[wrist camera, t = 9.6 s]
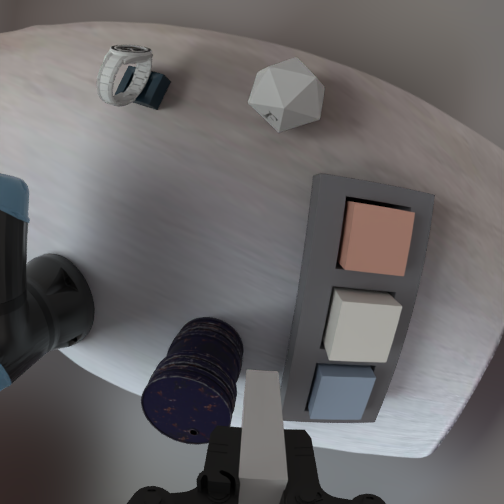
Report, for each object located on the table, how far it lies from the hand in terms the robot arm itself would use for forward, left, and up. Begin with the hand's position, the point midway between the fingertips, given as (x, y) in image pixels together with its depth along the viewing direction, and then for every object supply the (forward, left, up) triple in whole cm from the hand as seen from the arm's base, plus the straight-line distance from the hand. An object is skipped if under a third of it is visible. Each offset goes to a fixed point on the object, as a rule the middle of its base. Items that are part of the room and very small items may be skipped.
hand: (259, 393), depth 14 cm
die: (0, +21, -27) cm, 34 cm away
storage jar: (-7, -13, -27) cm, 31 cm away
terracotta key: (+11, +6, -24) cm, 27 cm away
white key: (+11, -4, -22) cm, 25 cm away
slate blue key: (+11, -14, -24) cm, 30 cm away
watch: (-19, +22, -27) cm, 39 cm away
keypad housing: (+11, -4, -27) cm, 29 cm away
